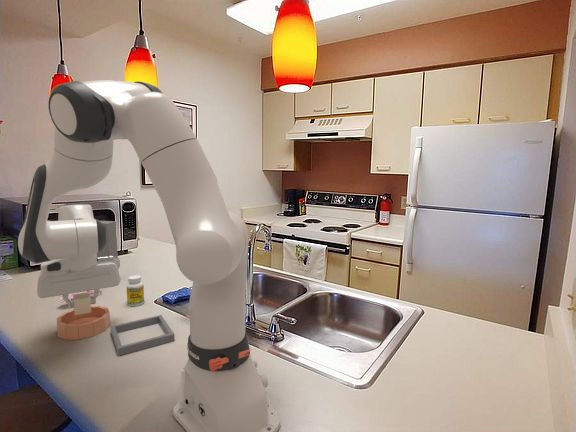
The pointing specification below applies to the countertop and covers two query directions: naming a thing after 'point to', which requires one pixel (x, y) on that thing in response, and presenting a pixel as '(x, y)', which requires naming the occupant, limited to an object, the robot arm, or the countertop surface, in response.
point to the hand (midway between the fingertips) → (82, 305)
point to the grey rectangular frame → (144, 343)
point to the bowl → (83, 323)
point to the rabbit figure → (78, 293)
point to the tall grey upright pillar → (109, 240)
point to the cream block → (82, 303)
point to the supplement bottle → (135, 291)
